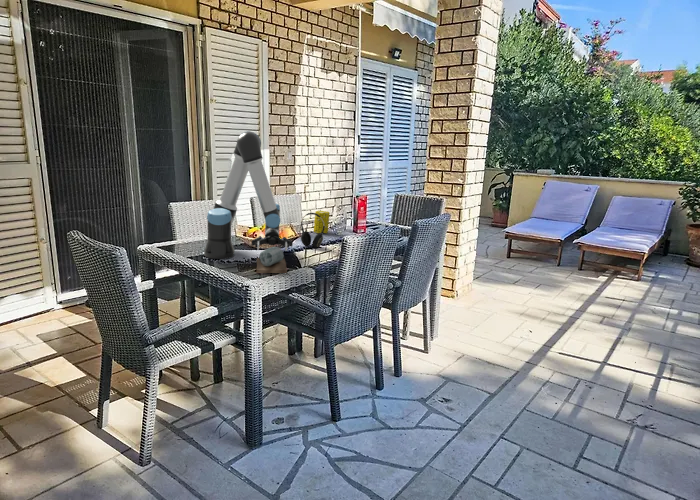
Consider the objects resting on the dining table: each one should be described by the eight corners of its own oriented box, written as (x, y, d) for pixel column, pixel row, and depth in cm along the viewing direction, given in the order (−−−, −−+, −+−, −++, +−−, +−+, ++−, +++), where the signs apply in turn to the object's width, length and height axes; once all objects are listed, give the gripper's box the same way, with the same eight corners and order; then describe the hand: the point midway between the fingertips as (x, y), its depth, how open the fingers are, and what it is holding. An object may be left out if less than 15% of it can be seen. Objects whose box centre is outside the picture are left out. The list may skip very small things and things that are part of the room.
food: (311, 235, 301) (318, 233, 310) (327, 234, 296) (334, 231, 305) (308, 211, 299) (315, 210, 308) (324, 210, 294) (331, 208, 303)
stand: (256, 273, 217) (256, 269, 216) (256, 262, 234) (256, 258, 233) (286, 274, 220) (286, 270, 219) (284, 262, 237) (284, 258, 236)
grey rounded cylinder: (271, 263, 216) (267, 243, 218) (256, 268, 221) (253, 248, 223) (290, 264, 228) (286, 244, 229) (275, 269, 232) (272, 250, 234)
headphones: (303, 243, 275) (305, 209, 270) (326, 247, 271) (328, 213, 265) (296, 246, 268) (298, 212, 262) (320, 250, 263) (322, 215, 257)
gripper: (295, 244, 249) (297, 255, 229) (248, 242, 245) (246, 254, 225) (296, 230, 247) (298, 241, 227) (248, 228, 243) (246, 239, 223)
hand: (272, 247), depth 226 cm, fingers open, 13 cm apart
